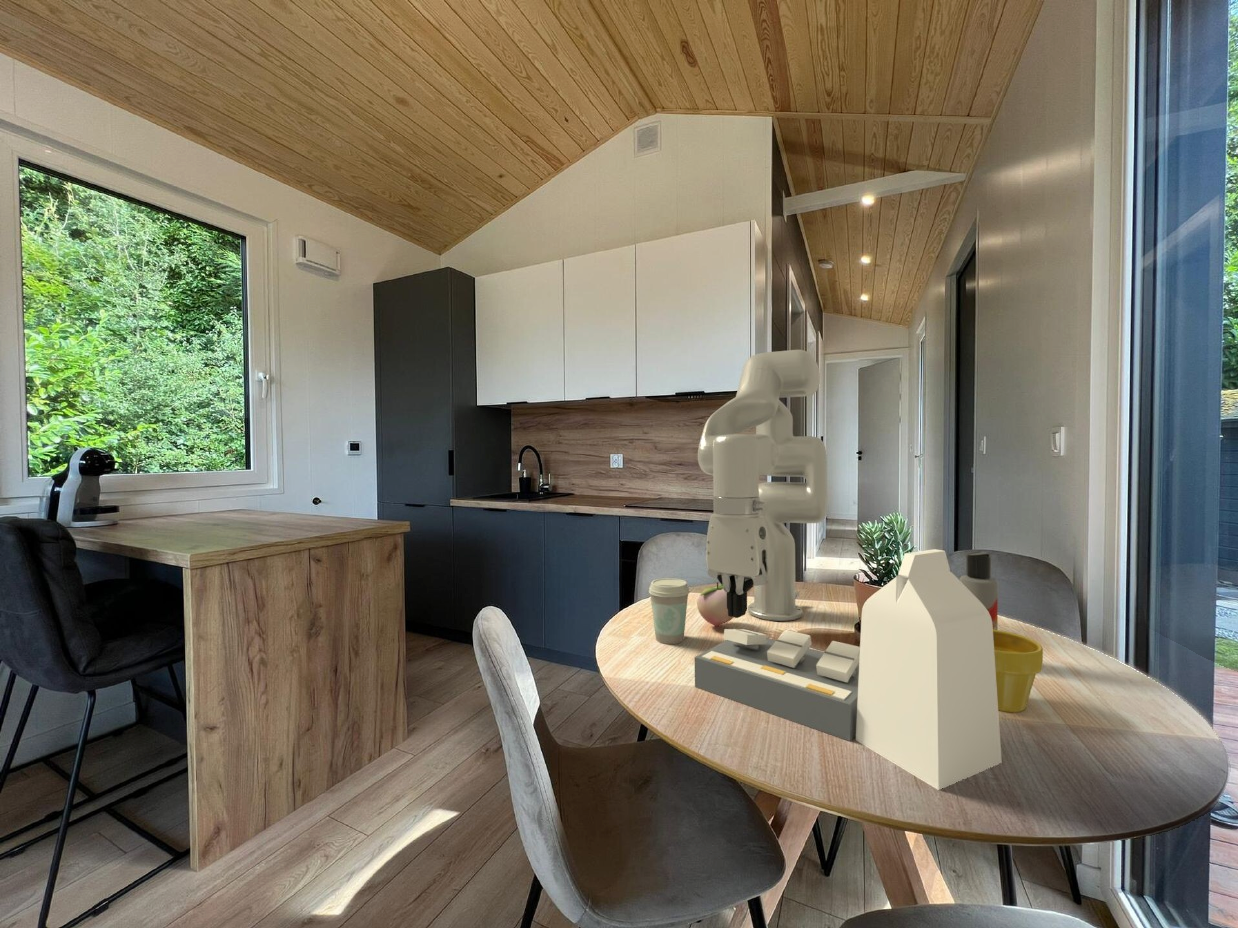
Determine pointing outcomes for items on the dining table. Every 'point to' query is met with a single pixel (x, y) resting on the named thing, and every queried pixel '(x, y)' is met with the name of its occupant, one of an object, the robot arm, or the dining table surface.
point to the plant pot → (1015, 669)
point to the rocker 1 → (744, 636)
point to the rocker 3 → (839, 661)
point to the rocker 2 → (789, 648)
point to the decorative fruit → (714, 605)
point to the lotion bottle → (982, 583)
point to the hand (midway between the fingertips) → (737, 615)
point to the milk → (928, 674)
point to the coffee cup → (669, 609)
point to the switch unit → (780, 686)
